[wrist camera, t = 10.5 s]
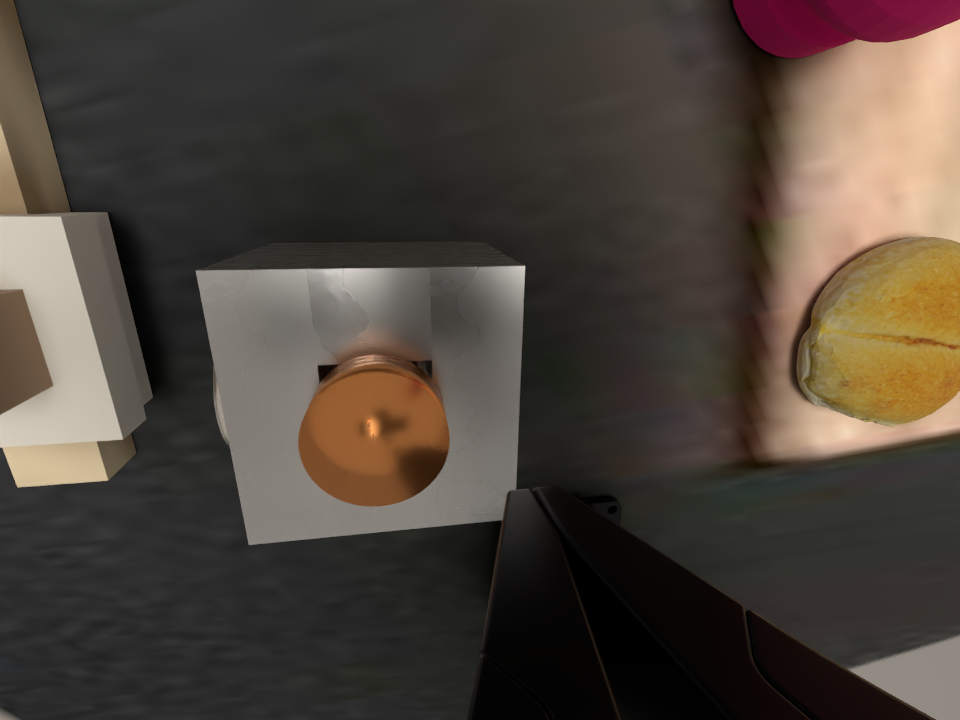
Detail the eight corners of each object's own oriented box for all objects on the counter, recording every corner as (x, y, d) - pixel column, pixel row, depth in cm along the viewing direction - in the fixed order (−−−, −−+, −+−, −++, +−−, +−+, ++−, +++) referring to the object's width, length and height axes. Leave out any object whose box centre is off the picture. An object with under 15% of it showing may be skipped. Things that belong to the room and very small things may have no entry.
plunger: (435, 404, 18) (450, 499, 12) (338, 409, 17) (307, 512, 12) (432, 312, 17) (448, 371, 11) (328, 315, 16) (288, 379, 10)
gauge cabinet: (480, 419, 21) (514, 518, 15) (288, 432, 20) (234, 546, 14) (481, 241, 19) (525, 266, 12) (261, 242, 17) (177, 270, 11)
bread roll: (974, 254, 23) (1085, 266, 19) (885, 416, 25) (967, 454, 22) (842, 214, 21) (937, 218, 17) (761, 392, 24) (828, 430, 20)
